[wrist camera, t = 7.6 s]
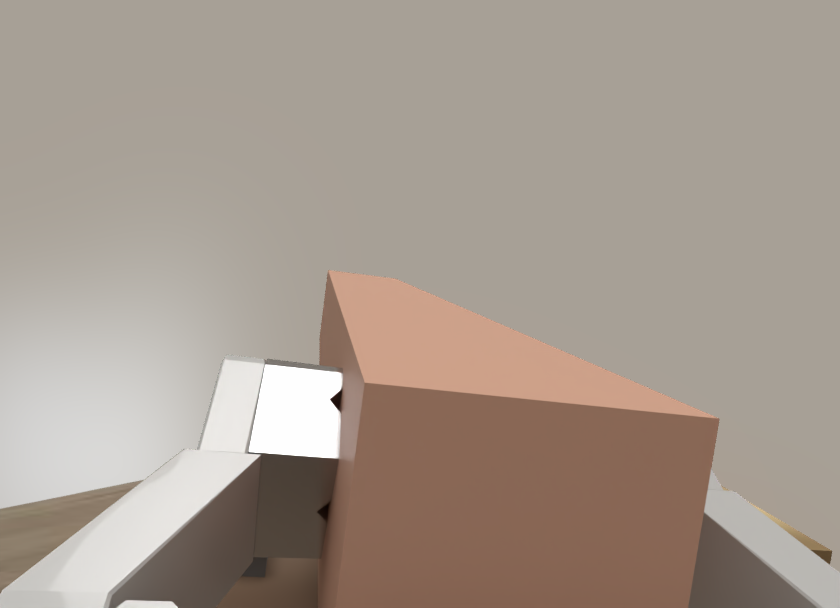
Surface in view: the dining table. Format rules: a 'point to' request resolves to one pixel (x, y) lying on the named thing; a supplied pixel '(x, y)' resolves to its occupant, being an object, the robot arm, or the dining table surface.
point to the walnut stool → (298, 578)
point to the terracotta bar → (499, 466)
